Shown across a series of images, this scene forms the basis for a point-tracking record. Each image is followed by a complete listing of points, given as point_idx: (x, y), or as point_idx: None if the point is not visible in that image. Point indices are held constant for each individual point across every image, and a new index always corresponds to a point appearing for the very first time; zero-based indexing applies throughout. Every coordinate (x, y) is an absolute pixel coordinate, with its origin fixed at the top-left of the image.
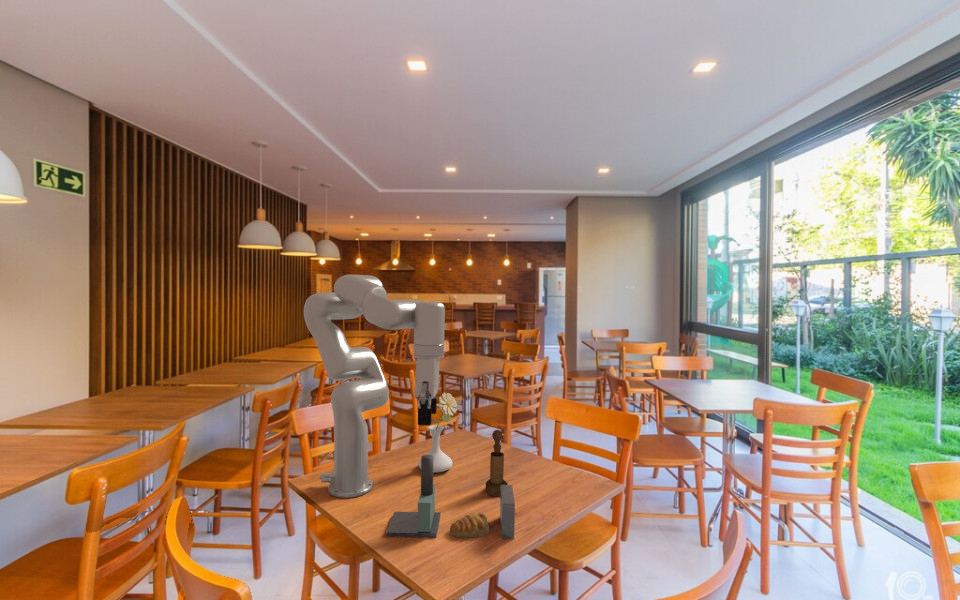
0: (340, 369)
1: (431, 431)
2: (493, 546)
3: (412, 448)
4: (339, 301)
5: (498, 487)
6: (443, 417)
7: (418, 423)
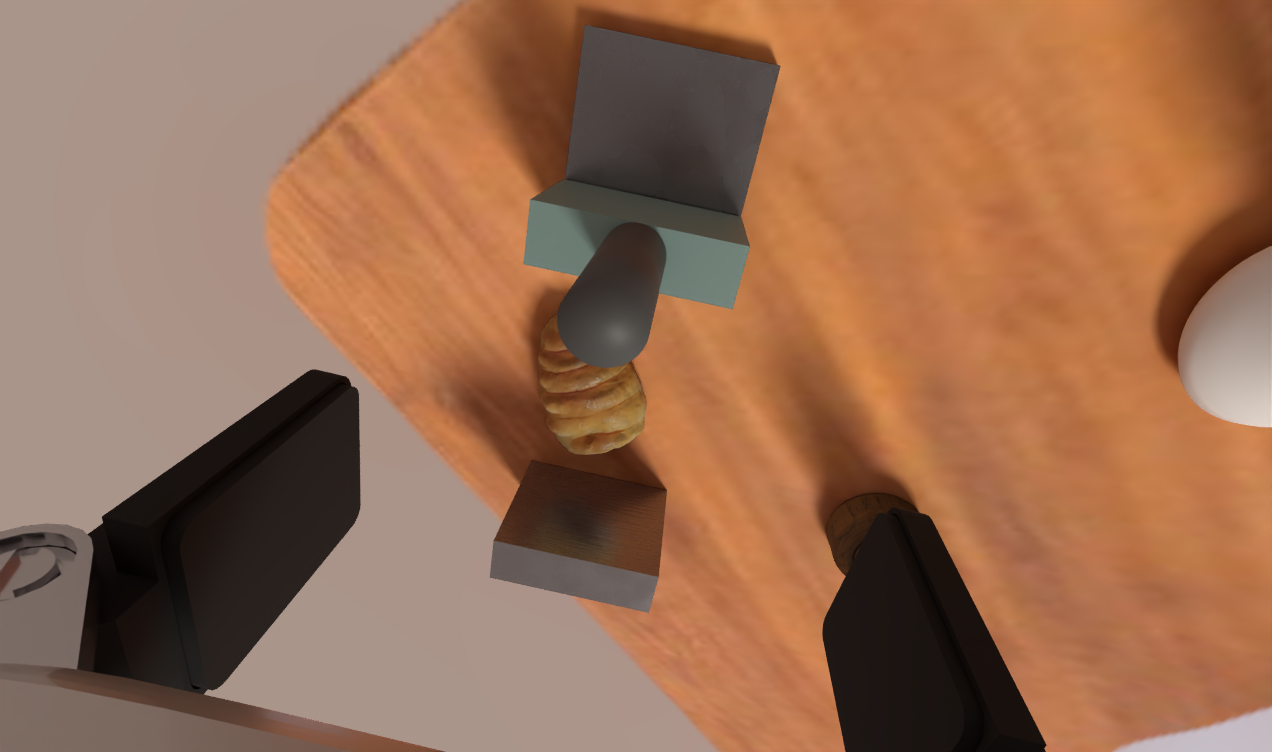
0: None
1: None
2: (492, 428)
3: None
4: None
5: (838, 549)
6: None
7: (309, 381)
